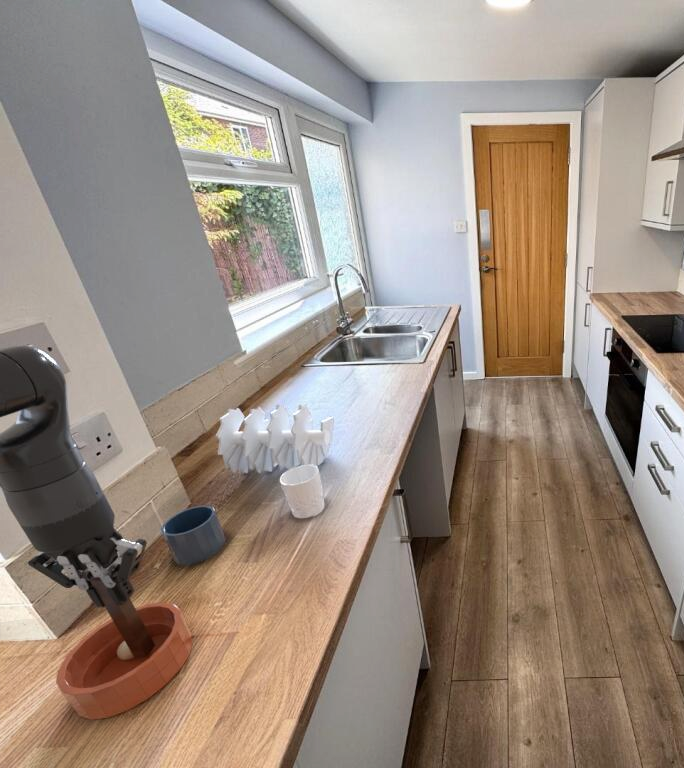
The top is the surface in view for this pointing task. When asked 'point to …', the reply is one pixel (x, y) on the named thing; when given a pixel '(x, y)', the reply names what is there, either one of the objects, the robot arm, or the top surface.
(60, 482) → the robot arm
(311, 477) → the white cup
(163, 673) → the bowl
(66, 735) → the top surface
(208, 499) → the top surface
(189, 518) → the utensil pot
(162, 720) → the top surface
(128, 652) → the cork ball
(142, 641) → the stick
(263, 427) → the spiral staircase
